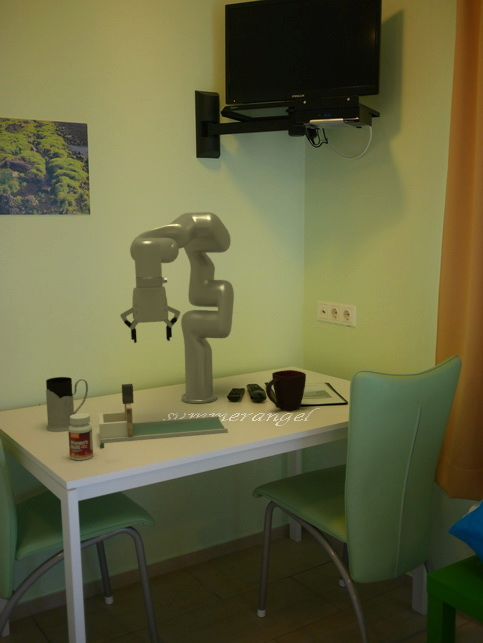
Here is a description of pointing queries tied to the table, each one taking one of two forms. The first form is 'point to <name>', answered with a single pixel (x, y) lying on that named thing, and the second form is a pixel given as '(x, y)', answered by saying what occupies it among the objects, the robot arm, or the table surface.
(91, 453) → the pill bottle
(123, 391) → the striker
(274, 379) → the cup
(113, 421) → the pitch
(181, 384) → the table surface
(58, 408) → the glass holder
